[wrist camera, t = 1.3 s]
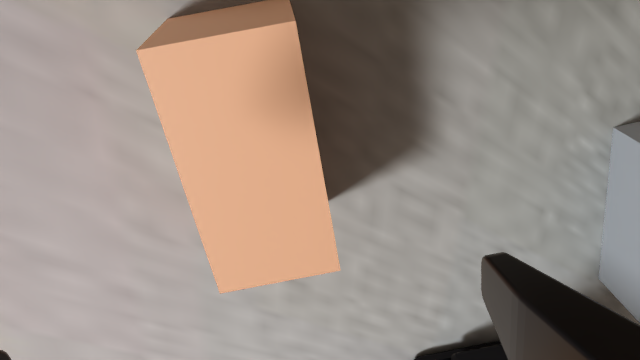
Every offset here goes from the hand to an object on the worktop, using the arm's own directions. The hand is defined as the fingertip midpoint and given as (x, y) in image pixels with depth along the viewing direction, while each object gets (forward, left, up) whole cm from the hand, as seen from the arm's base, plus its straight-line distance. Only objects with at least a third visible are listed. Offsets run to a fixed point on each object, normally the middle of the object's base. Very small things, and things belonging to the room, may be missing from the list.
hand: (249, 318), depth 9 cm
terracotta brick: (0, 0, -10) cm, 10 cm away
